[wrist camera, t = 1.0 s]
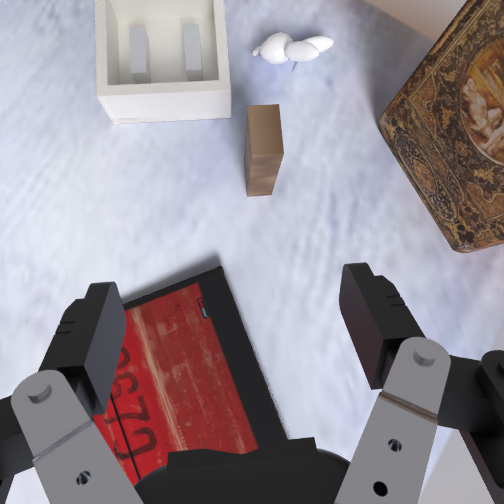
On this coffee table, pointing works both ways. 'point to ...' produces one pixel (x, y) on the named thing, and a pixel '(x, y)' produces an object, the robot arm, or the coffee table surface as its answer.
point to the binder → (186, 379)
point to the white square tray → (162, 60)
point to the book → (457, 128)
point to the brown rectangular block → (263, 148)
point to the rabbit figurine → (292, 48)
